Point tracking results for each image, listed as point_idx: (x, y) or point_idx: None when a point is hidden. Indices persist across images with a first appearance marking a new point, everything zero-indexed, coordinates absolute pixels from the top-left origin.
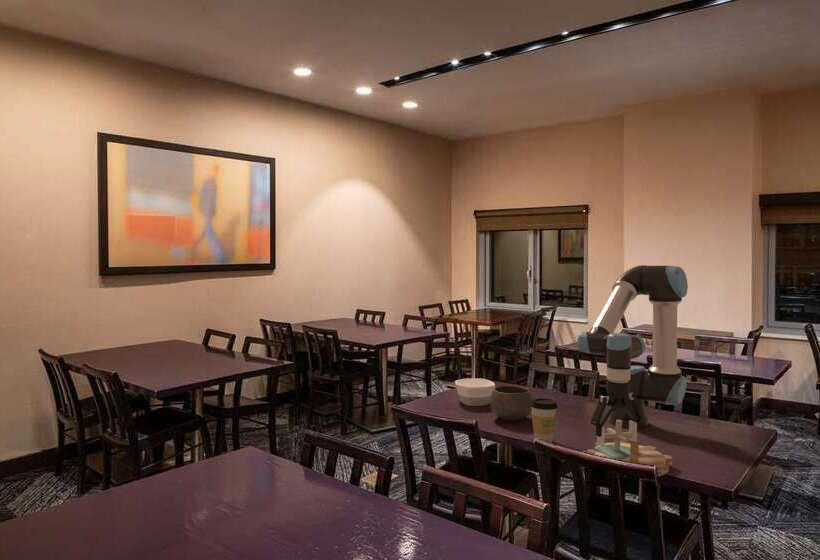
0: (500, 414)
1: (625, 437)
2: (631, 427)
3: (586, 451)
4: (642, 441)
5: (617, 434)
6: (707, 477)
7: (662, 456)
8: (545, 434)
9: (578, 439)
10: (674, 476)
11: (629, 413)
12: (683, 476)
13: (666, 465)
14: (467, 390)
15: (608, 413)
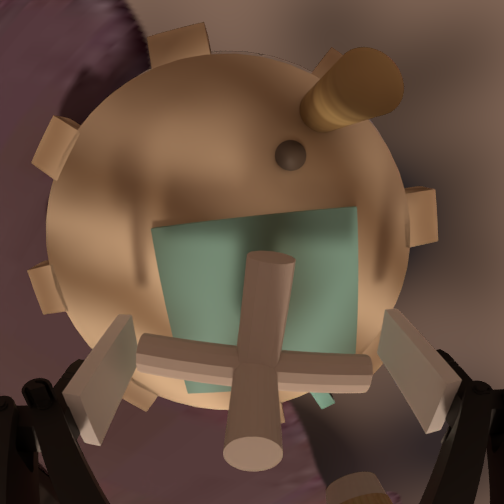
0: None
1: (283, 277)
2: (108, 395)
3: (319, 398)
4: None
5: (275, 363)
6: (37, 24)
7: (71, 159)
8: (378, 492)
9: (234, 481)
10: (137, 46)
11: (100, 490)
12: (103, 40)
13: (153, 41)
14: None
15: (466, 485)
